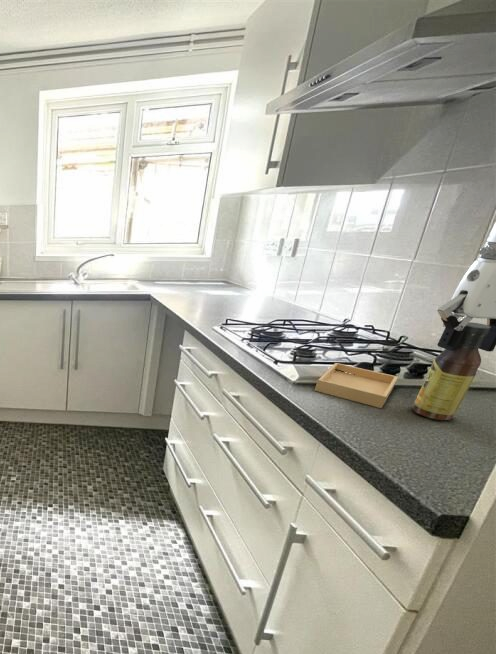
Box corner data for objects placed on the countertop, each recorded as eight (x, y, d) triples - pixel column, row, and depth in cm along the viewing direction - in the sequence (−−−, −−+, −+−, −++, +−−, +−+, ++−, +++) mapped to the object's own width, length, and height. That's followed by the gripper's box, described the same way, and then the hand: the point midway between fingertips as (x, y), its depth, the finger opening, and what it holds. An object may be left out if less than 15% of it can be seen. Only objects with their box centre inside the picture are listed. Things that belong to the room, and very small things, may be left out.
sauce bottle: (420, 406, 92) (463, 318, 84) (458, 418, 86) (508, 326, 78) (403, 411, 89) (446, 321, 81) (441, 424, 84) (491, 330, 76)
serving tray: (331, 372, 109) (335, 362, 108) (393, 387, 101) (398, 376, 100) (314, 390, 99) (318, 379, 98) (381, 408, 91) (386, 396, 90)
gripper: (483, 256, 71) (436, 354, 79) (589, 257, 71) (532, 356, 78) (441, 251, 78) (401, 342, 86) (538, 252, 78) (489, 343, 85)
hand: (464, 348), depth 82 cm, fingers open, 6 cm apart
